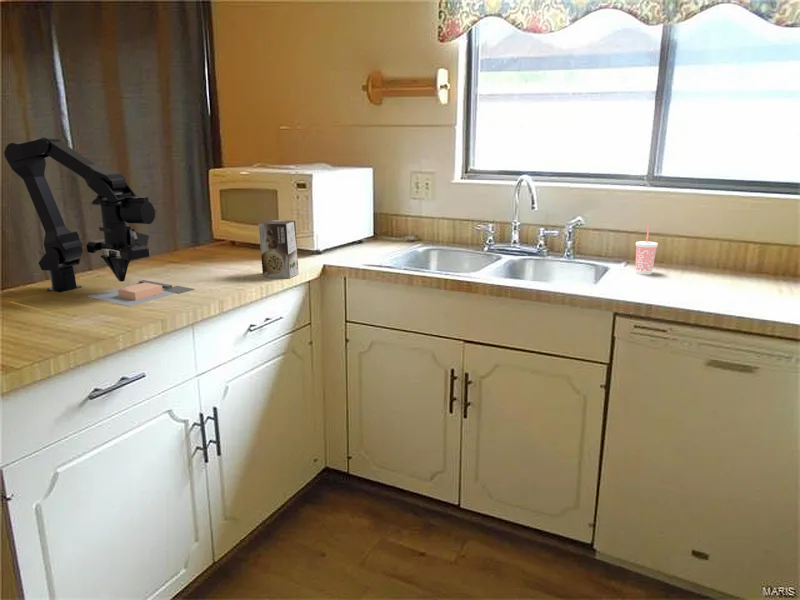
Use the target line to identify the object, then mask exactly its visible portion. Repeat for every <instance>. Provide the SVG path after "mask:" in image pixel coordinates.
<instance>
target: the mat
mask: <svg viewBox="0 0 800 600" xmlns="http://www.w3.org/2000/svg"><path fill="white" fill-rule="evenodd" d="M137 284H141V283H139V282H138V283H134V284H130V285H126V286H122V287H121V286H120V287H118V288H114V289H109V290H104V291H102V292H97V293H94V294H89V295H86V296H85V297H87V298H92V299H95V300H100V301H103V302H108V303H112V304H113V303H114V304H118V305H122V306H126V307H131V306H132V307H133V306H134V305H138V304H142V303H145V302H149V301H153V300H157V299H161V298H165V297H169V296H171V295H172V296H173V295H176V294H177V293H174V292H169V291H164V290H163V293H161V294H158V295H154V296H150V297H146V298H143V299H139V300H132V299H128V298H123V297H119V295H118V289H120V288H124V287H128V286H132V285H137ZM162 289H166V288H162Z"/></svg>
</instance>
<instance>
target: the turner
mask: <svg viewBox="0 0 800 600" xmlns="http://www.w3.org/2000/svg"><path fill="white" fill-rule="evenodd" d="M138 283H150V284H156V285H161V286H162V288H166V289H163V290H164V291H169V292H174V293H176V294H179V295H180V294H183V293H186V292H191V291H193V290H195V288H192V287H185V286H181V285H174V286H173V285H172V284H168V283H163V282H158V281H152V280H151V281H150V280H146V279H143V280H139V281H138Z"/></svg>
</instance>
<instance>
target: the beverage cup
mask: <svg viewBox="0 0 800 600" xmlns="http://www.w3.org/2000/svg"><path fill="white" fill-rule="evenodd" d="M649 236H650V225H647V230H646V240H640V241H636V242H635V268H634V269H635V271H634V272H635V274H639V275H651V274H653V270H654V269H653V268H654V264H655V263H654V262H655V257H656V254H657V253H656V252H657V248H658V246H659V245H658V244H659V243H658V242H656V241H655V242H654V241H649Z"/></svg>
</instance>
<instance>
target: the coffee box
mask: <svg viewBox="0 0 800 600" xmlns="http://www.w3.org/2000/svg"><path fill="white" fill-rule="evenodd" d="M257 224H258V233H259V245H260V246H259V247H260V257H261V270H262V277H263V278H275V279H276V278H277V279H278V278H279V279H282V278H283V279H291V278H294V277H295V276H298V275H299V262H298V261H299V258H298V244H297V243H298V240H297V229H296V227H297V226H296V220H287V219H286V220H285V219H284V220H283V219H282V220H280V219H267V220H264V221H261V222H259V223H257Z"/></svg>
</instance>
